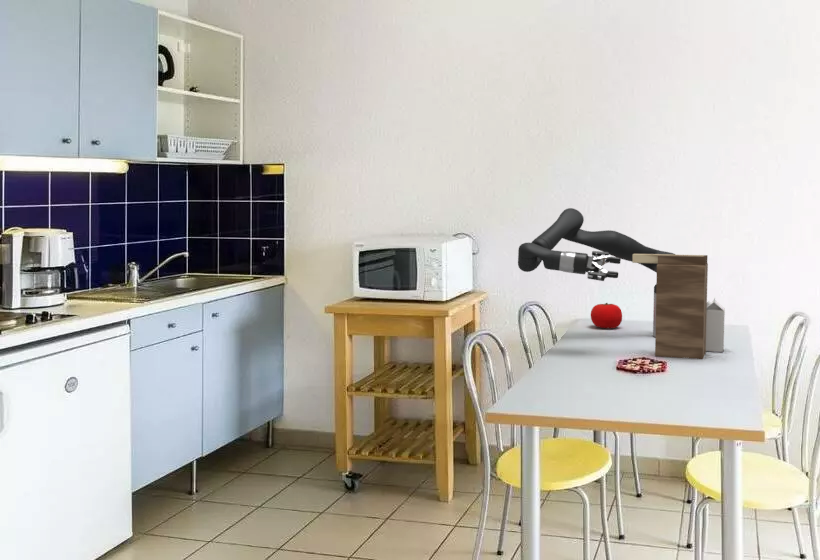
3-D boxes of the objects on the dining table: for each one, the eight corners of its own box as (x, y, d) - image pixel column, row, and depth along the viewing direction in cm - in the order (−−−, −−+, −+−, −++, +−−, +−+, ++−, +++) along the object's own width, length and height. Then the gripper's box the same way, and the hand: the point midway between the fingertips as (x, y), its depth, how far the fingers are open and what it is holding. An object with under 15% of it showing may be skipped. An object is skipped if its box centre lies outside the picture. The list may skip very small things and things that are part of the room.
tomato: (625, 330, 406) (625, 305, 405) (593, 330, 406) (593, 305, 405) (618, 325, 420) (618, 300, 419) (587, 325, 420) (588, 301, 419)
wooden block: (633, 262, 353) (633, 253, 353) (703, 263, 345) (703, 255, 344) (632, 262, 351) (632, 254, 350) (703, 264, 342) (703, 255, 342)
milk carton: (723, 349, 360) (725, 297, 358) (723, 352, 353) (724, 299, 351) (703, 348, 362) (704, 296, 360) (702, 351, 355) (703, 298, 353)
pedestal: (659, 350, 357) (661, 253, 354) (705, 353, 352) (708, 254, 348) (655, 356, 346) (657, 256, 343) (702, 359, 341) (705, 257, 337)
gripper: (575, 259, 363) (620, 264, 359) (570, 282, 352) (616, 288, 348) (576, 242, 358) (622, 248, 354) (571, 265, 347) (618, 271, 344)
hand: (619, 268), depth 351 cm, fingers open, 8 cm apart
